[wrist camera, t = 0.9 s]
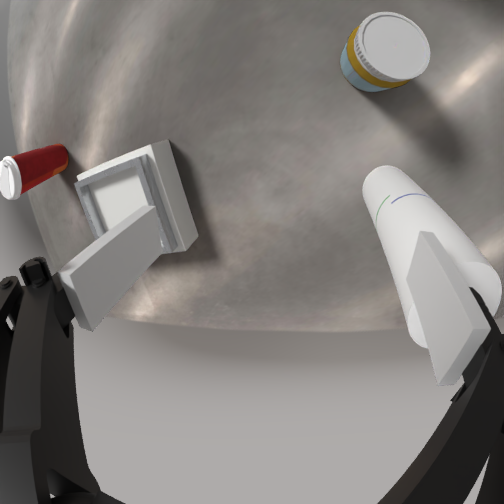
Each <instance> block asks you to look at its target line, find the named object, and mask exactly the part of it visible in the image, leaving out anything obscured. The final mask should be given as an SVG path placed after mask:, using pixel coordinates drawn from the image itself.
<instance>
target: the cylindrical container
mask: <svg viewBox="0 0 504 504" xmlns="http://www.w3.org/2000/svg"><path fill="white" fill-rule="evenodd" d="M363 198H364V201H365V203H366V205H367V208H368V210H369V213H370V215H371V218H372V220H373V223H374V225H375V228H376V230H377V233H378V236H379V238H380V241H381V244H382V246H383V249H384V252H385V255H386V258H387V261H388V263H389V266H390V269H391V272H392V275H393V279H394V282H395V285H396V288H397V291H398V295H399V298H400V301H401V305H402V308H403V312H404V315H405V319H406V323H407V326H408V330H409V333H410V336H411V337H412V339H413V340H414V341H415V342H416V343H417V344H418V345H420V346H422V347H424V348H427V349H428V346H427V343H426V339H425V336H424V332H423V329H422V325H421V322H420V319H419V316H418V313H417V310H416V307H415V304H414V301H413V298H412V295H411V292H410V289H409V287H408V284H407V281H406V278H407V275H408V271H409V268H410V265H411V261H412V258H413V254H414V251H415V247H416V243H417V239H418V235H419V231H426V232H433V233H434V234H435V236H436V237H437V238H438V240H439V241H440V243H441V244H442V246H443V247H444V249H445V250H446V252H447V253H448V255H449V256H450V258H451V259H452V261H453V262H454V264H455V265H456V267H457V269H458V270H459V272H460V273H461V275H462V277H463V278H464V280H465V282H466V283H467V285H468V287H473V288H474V289H475V290H476V291H477V292H478V293H479V294H480V295H481V297H482V299H483V300H484V302H485V305H486V306H487V307H488V309H489V312H490V313H491V315H492V317H494V315H495V313H496V311H497V309H498V306H499V304H500V300H501V295H502V285H501V281H500V278H499V276H498V274H497V272H496V271H495V270H494V268H493V267H492V266H491V264H490V263H489V262H488V261H487V259H486V258H485V257H484V256H483V254H482V253H481V252H480V251H479V249H478V248H477V247H476V246H475V245H474V243H473V242H472V241H471V240H470V239H469V238H468V237H467V235H466V234H465V233H464V232H463V231H462V230H461V229H460V228H459V226H458V225H457V224H456V223H455V222H454V221H453V220H452V219H451V218H450V217H449V216H448V215H447V213H446V212H445V211H444V210H443V209H442V208H441V207H440V206H439V205H438V204H437V203H436V202H435V201H434V200H433V199H432V198H431V197H430V196H429V195H428V194H427V193H426V192H425V191H424V190H422V189H421V188H420V187H419V186H418V185H417V184H416V183H415V182H414V181H413V180H412V179H411V178H410V177H408V176H407V175H406V174H405V173H404V172H403V171H401V170H400V169H399V168H396V167H394V166H380V167H378V168H375V169H374V170H373V171H371V172H370V173H369V174H368V176H367V177H366V179H365V181H364V184H363Z"/></svg>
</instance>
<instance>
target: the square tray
mask: <svg viewBox="0 0 504 504" xmlns="http://www.w3.org/2000/svg"><path fill="white" fill-rule="evenodd" d="M77 178H78V182H76V183H74V185H75V188H76V191H77V194H78V196H79V199H80V202H81V204H82V207H83V210H84V212H85V215H86V217H87V220H88V223H89V225H90V227H91V230H92V232H93V235H94V237H95V239H96V240H97V239H98V238H100V237H101V236H102V235H104V234H105V233H106V232H108V231H109V230H110V229H112V228H113V227H114V226H116V225H117V224H118V223H120V222H121V221H122V220H124V219H125V218H127V217H128V216H129V215H131V214H132V213H134V212H135V211H136V210H138V209H139V208H141V207H142V206H156V213H157V220H158V227H159V233H160V239H161V246H162V251H163V252H162V254H167V253H174V252H182V251H186V250H187V249H188V248H189V247H190V246H191V245H192V243H193V242H194V241H195V240H196V239H197V238H198V236H199V235H198V232H197V229H196V226H195V223H194V220H193V217H192V214H191V211H190V208H189V205H188V202H187V199H186V195H185V192H184V189H183V186H182V183H181V180H180V176H179V173H178V170H177V167H176V163H175V160H174V157H173V153H172V150H171V147H170V143H169V140H168V139H167V140H163V141H160V142H157V143H154V144H151V145H148V146H145V147H143V148H140V149H137V150H135V151H132V152H130V153H127V154H125V155H122V156H120V157H117V158H115V159H113V160H110V161H108V162H106V163H103V164H101V165H99V166H96V167H94V168H92V169H90V170H88V171H85V172H83V173H81V174H79V175H77Z"/></svg>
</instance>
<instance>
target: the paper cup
mask: <svg viewBox="0 0 504 504" xmlns="http://www.w3.org/2000/svg"><path fill="white" fill-rule="evenodd" d="M67 165H68V153H67V150H66V148H65V147H64V146H63V145H62V144H55V145H51V146H47V147H43V148H39V149H35V150H32V151H28V152H25V153H22V154H18V155H15V156H12V157H10V156H7V157H5V158H4V159H3V160H2V161H1V162H0V191H1V193H2V194H3V196H4V197H5V198H7V199H13V200H14V199H18V198H19V196H20V195H21V194H22V193H24V192H26V191H28V190H29V189H31V188H33V187H34V186H36V185H38V184H40V183H41V182H43V181H45V180H47V179H49V178H50V177H52V176H54V175H56V174H58V173H60V172H61V171H63V170H64V169H66V167H67Z"/></svg>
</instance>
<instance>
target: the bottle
mask: <svg viewBox="0 0 504 504" xmlns="http://www.w3.org/2000/svg"><path fill="white" fill-rule="evenodd" d="M429 60H430V47H429V43H428V41H427V38H426V36H425V35H424V33H423V32H422V30H421V29H420V28H419V27H418V26H417V25H416V24H415V23H414V22H413V21H411V20H410V19H408V18H407V17H405V16H402V15H400V14H397V13H393V12H379V13H375V14H373V15H370V16H369V17H367V18H366V19H365V20H364V21H363V22H362V23H361V25H360V26H358V27H357V28H355V29H354V30H353V32H352V33H351V35H350V36H349V38H348V40H347V43H346V45H345V47H344V50H343V52H342V54H341V59H340V66H341V71H342V73H343V75H344V77H345V78H346V79H347V81H348V82H349V83H350V84H351V85H353V86H354V87H356V88H357V89H360V90H363V91H367V92H377V91H382V90H386V89H391V88H395V87H399V86H402V85H404V84H406V83H407V82H408V81H410V80H411V79H413V78H415V77H418V75H421V73H423V72H424V70H425V69H426V67H427V66H428V63H429Z"/></svg>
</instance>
